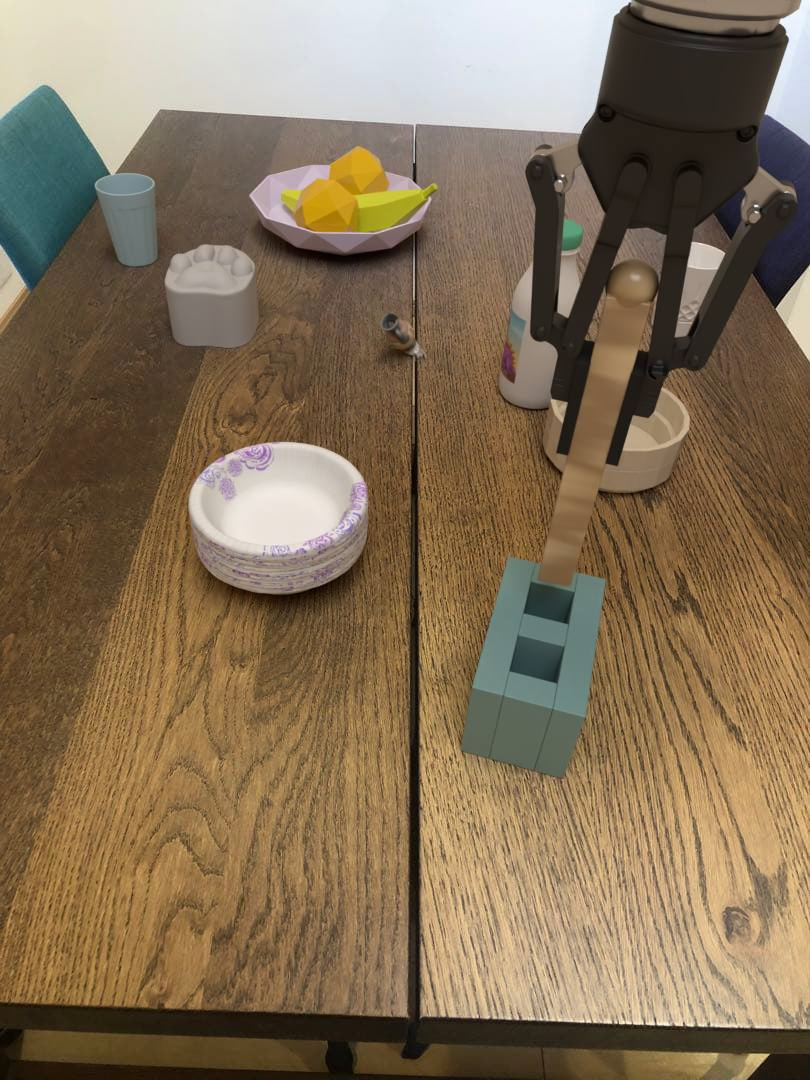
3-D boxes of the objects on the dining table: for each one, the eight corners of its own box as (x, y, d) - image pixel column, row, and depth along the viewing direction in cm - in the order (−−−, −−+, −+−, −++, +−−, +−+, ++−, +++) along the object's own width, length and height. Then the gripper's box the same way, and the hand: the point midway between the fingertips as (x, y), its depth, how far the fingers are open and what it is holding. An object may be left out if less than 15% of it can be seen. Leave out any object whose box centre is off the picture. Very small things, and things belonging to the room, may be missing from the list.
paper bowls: (250, 485, 82) (244, 420, 76) (391, 529, 78) (395, 464, 73) (164, 587, 71) (150, 520, 66) (322, 643, 68) (321, 577, 62)
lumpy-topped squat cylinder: (166, 344, 100) (154, 278, 94) (187, 294, 109) (178, 230, 103) (251, 349, 100) (245, 283, 94) (265, 298, 110) (261, 235, 104)
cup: (147, 274, 113) (134, 198, 105) (99, 264, 114) (82, 188, 107) (175, 252, 118) (165, 178, 111) (129, 243, 119) (115, 169, 112)
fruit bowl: (219, 227, 125) (211, 149, 117) (357, 189, 139) (358, 117, 131) (332, 298, 111) (331, 215, 103) (473, 248, 124) (482, 171, 117)
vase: (390, 372, 98) (392, 328, 94) (367, 351, 101) (368, 307, 97) (427, 361, 100) (431, 317, 96) (403, 341, 104) (406, 297, 99)
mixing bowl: (676, 431, 92) (691, 386, 88) (670, 510, 82) (687, 463, 78) (552, 406, 95) (561, 361, 91) (531, 479, 85) (541, 432, 81)
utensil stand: (585, 643, 69) (606, 578, 64) (563, 779, 60) (585, 717, 54) (495, 621, 71) (508, 555, 65) (460, 750, 61) (471, 687, 56)
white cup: (634, 322, 110) (653, 250, 103) (669, 306, 114) (690, 236, 107) (681, 347, 106) (705, 274, 99) (716, 329, 110) (742, 258, 103)
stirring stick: (577, 564, 60) (666, 254, 44) (572, 590, 58) (663, 276, 42) (540, 555, 61) (614, 245, 44) (534, 581, 59) (609, 267, 42)
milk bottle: (570, 385, 98) (608, 220, 84) (551, 418, 93) (588, 248, 79) (510, 368, 100) (537, 204, 86) (488, 399, 95) (513, 230, 81)
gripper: (512, 6, 34) (456, 455, 50) (907, 56, 31) (713, 512, 48) (541, -24, 39) (482, 391, 55) (881, 16, 37) (714, 439, 53)
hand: (589, 446), depth 51 cm, fingers closed on stirring stick, 2 cm apart
